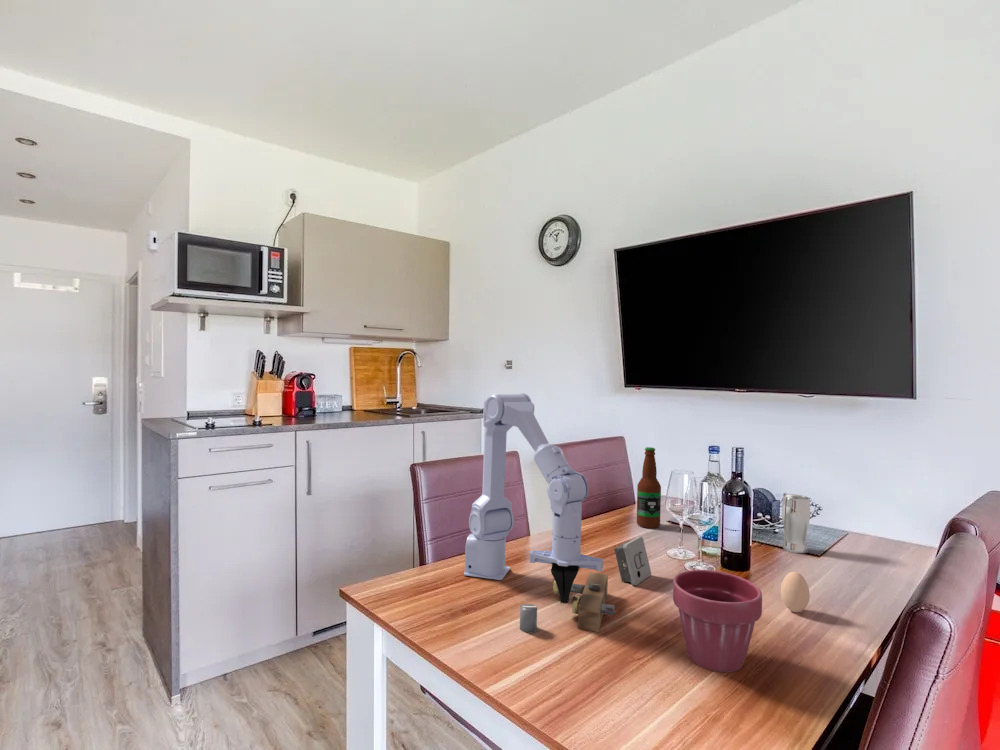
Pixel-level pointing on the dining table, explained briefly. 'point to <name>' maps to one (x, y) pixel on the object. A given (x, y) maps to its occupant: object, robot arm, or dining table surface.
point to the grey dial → (528, 618)
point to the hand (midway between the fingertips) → (564, 601)
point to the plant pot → (716, 617)
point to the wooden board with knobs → (592, 602)
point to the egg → (795, 592)
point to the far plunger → (575, 588)
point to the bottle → (649, 493)
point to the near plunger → (604, 607)
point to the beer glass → (795, 522)
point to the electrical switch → (633, 561)
